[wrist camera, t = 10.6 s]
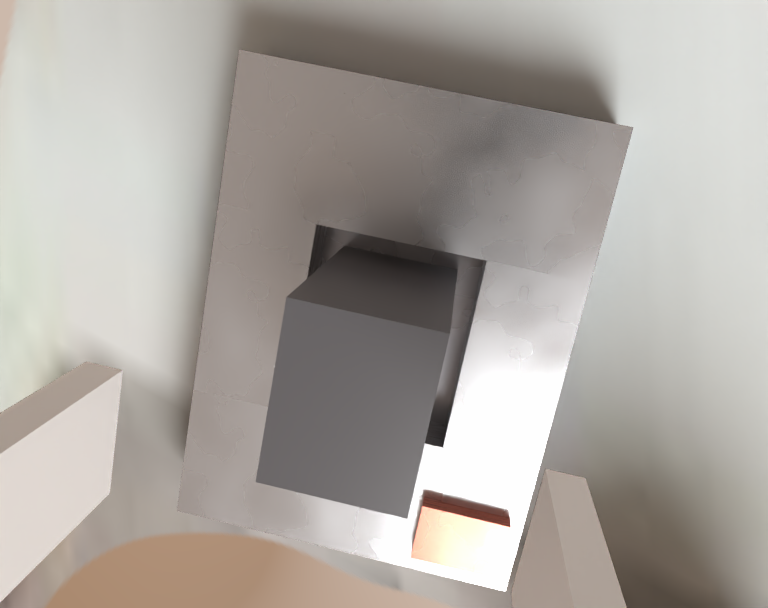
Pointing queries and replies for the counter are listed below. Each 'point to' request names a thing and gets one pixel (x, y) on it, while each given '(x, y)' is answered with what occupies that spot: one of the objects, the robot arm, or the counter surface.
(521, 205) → the socket plate
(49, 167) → the counter surface
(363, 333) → the plug
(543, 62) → the counter surface
